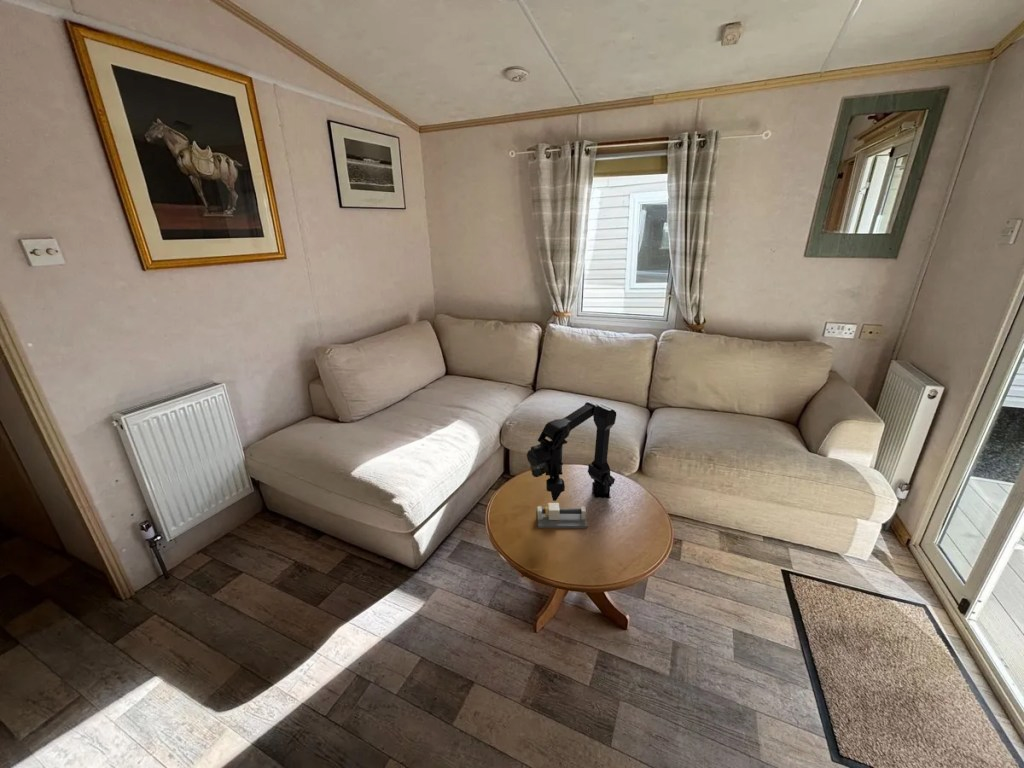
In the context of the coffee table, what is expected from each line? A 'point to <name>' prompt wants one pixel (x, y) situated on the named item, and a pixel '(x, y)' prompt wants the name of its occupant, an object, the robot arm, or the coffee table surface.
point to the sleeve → (554, 511)
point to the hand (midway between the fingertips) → (553, 492)
